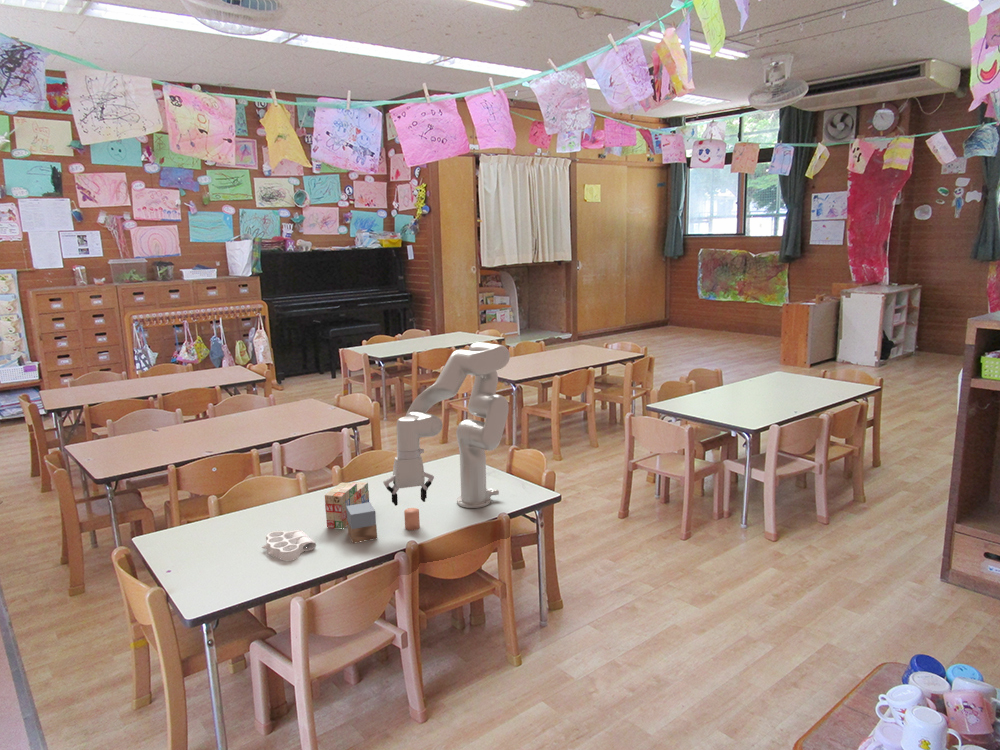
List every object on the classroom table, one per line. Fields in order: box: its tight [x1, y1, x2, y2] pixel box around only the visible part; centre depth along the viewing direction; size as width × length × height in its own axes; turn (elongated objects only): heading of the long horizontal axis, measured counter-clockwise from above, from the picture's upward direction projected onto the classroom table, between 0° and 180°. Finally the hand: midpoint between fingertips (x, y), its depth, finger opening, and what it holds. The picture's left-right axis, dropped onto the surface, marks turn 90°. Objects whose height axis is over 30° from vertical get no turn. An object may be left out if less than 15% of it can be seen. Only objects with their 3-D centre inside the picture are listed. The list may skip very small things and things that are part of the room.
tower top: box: [346, 501, 377, 529], centre depth 231 cm, size 8×8×5 cm
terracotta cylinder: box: [403, 507, 421, 531], centre depth 238 cm, size 5×5×6 cm
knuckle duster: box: [261, 529, 317, 561], centre depth 224 cm, size 3×18×15 cm
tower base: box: [347, 521, 378, 544], centre depth 232 cm, size 8×8×5 cm
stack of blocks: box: [324, 481, 370, 530], centre depth 247 cm, size 21×6×12 cm, turn 166°
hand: (409, 502), depth 236 cm, fingers open, 9 cm apart
